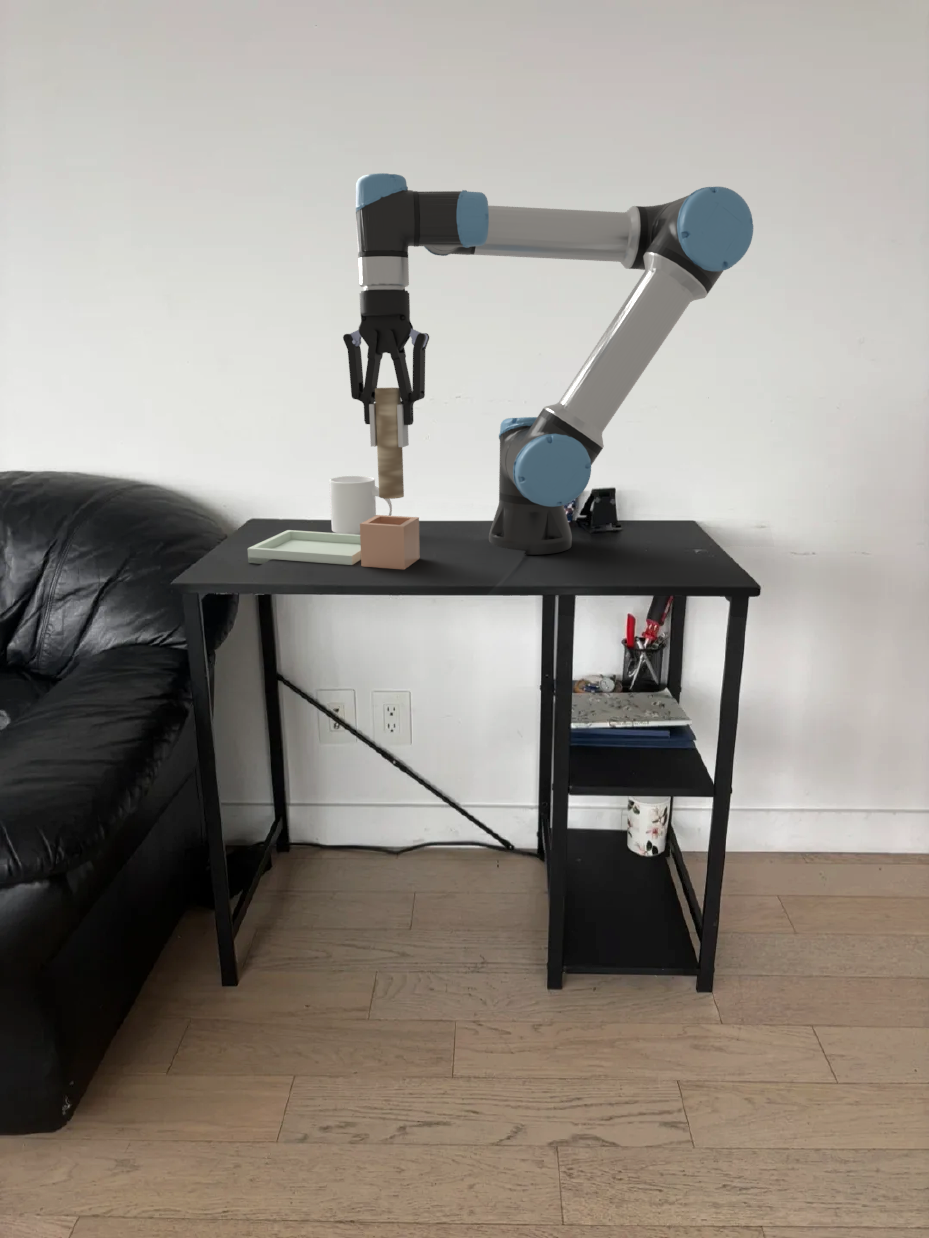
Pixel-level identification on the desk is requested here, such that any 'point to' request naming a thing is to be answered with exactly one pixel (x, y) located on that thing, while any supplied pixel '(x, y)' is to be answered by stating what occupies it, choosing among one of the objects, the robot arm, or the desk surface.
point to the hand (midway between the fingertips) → (389, 445)
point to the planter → (389, 541)
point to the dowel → (388, 443)
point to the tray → (308, 548)
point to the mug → (352, 502)
